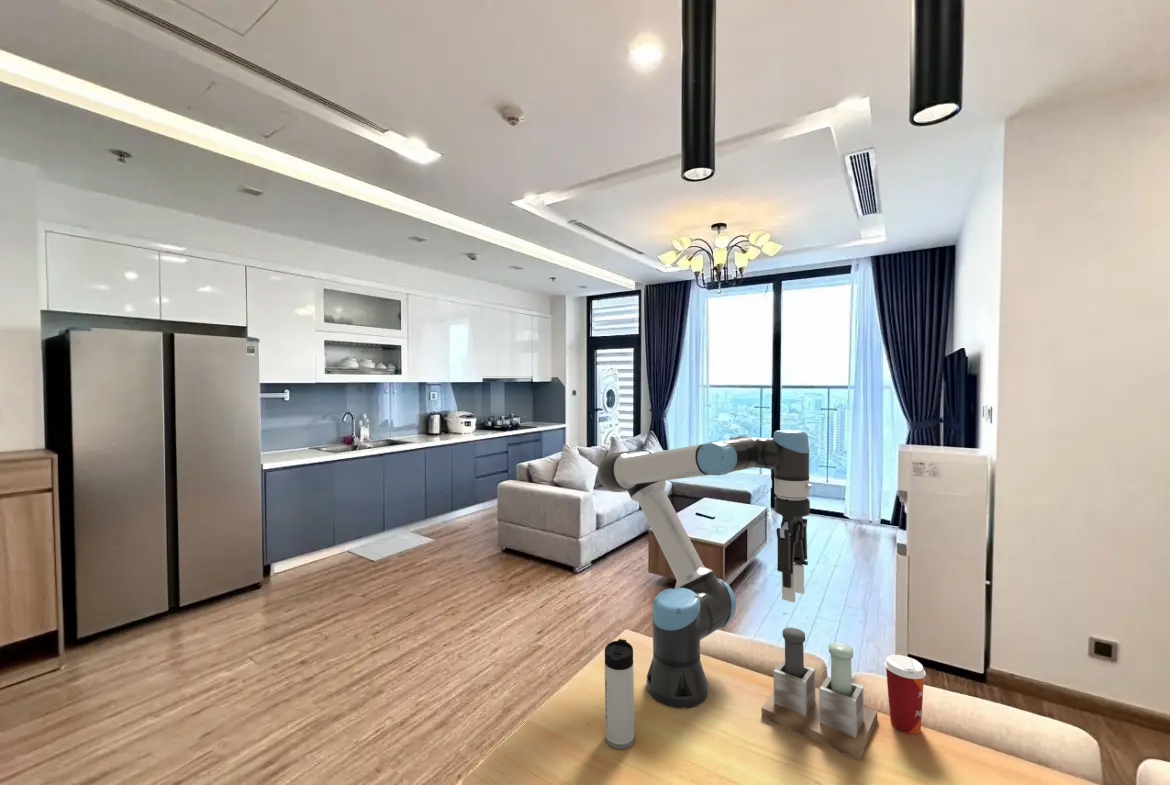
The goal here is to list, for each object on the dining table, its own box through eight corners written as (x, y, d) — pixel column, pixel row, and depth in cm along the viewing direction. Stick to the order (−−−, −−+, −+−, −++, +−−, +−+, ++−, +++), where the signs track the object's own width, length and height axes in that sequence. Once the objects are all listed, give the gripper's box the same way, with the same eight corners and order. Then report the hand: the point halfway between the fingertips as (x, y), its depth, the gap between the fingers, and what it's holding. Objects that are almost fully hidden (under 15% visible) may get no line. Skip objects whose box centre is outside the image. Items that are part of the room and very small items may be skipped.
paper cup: (933, 740, 102) (932, 674, 102) (893, 735, 104) (892, 670, 104) (916, 715, 110) (915, 654, 110) (879, 711, 111) (878, 651, 111)
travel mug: (637, 731, 106) (636, 641, 106) (630, 752, 100) (629, 656, 100) (610, 725, 108) (609, 636, 108) (601, 746, 102) (600, 651, 102)
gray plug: (780, 681, 112) (779, 633, 112) (787, 672, 115) (787, 625, 115) (801, 689, 109) (801, 640, 109) (808, 680, 112) (808, 632, 112)
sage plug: (826, 699, 105) (825, 648, 105) (832, 689, 109) (832, 639, 109) (850, 708, 102) (850, 656, 102) (856, 698, 105) (855, 647, 105)
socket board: (761, 716, 110) (761, 675, 110) (787, 684, 122) (786, 647, 122) (859, 760, 97) (858, 713, 97) (877, 719, 109) (876, 677, 109)
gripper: (794, 506, 103) (796, 614, 103) (821, 492, 116) (822, 588, 116) (760, 501, 108) (761, 604, 108) (789, 488, 121) (790, 580, 121)
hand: (793, 596), depth 112 cm, fingers open, 5 cm apart
